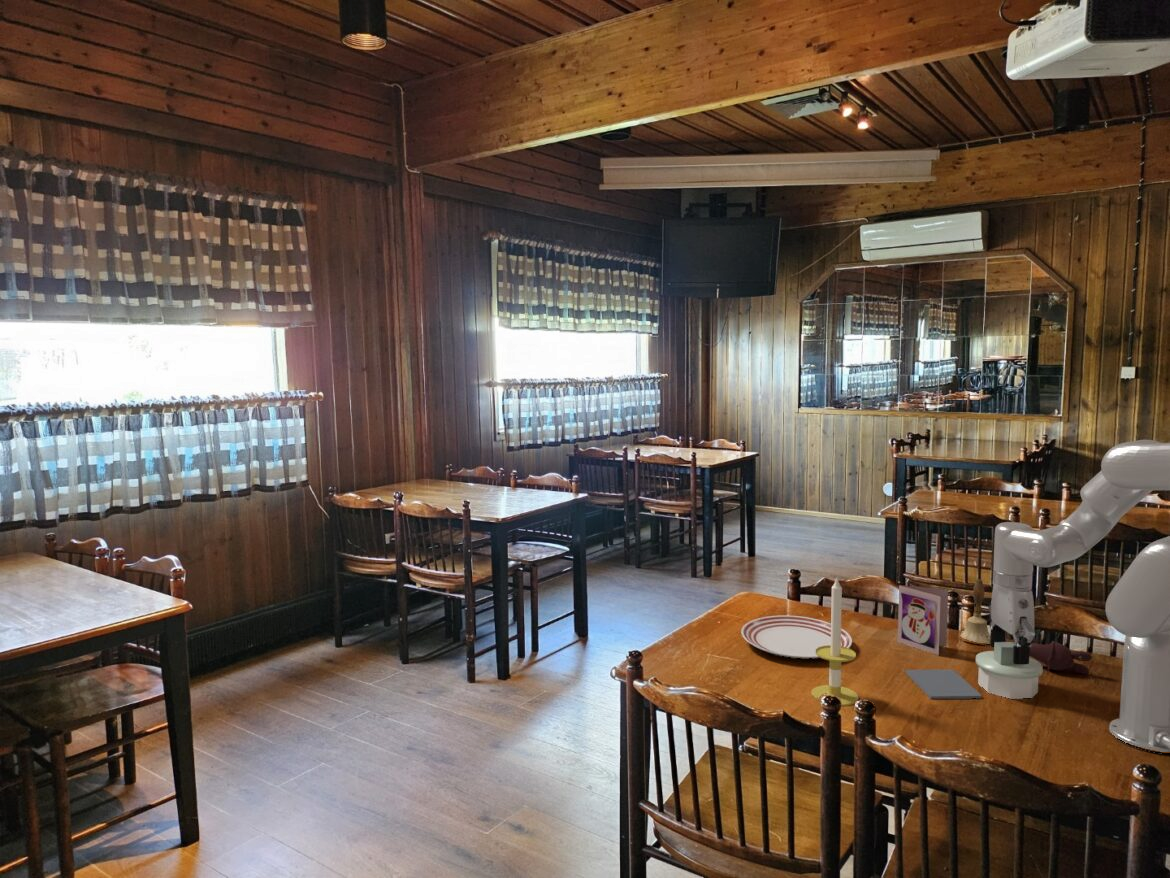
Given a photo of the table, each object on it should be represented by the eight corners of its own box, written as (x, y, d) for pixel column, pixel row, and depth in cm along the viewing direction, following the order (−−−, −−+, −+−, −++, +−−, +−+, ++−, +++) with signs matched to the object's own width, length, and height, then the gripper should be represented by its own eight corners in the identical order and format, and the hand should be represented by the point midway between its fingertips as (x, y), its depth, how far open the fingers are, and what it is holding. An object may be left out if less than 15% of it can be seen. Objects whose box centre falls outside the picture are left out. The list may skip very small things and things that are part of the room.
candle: (827, 709, 165) (830, 584, 162) (802, 689, 175) (803, 572, 172) (868, 702, 168) (871, 580, 165) (841, 683, 178) (843, 567, 175)
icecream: (1016, 643, 183) (1092, 661, 175) (1019, 626, 189) (1093, 643, 181) (1013, 668, 185) (1087, 686, 178) (1016, 650, 191) (1088, 668, 183)
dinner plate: (875, 656, 194) (876, 643, 193) (783, 674, 184) (783, 661, 183) (806, 621, 219) (806, 609, 219) (721, 636, 209) (721, 624, 209)
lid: (1055, 678, 167) (1056, 655, 166) (993, 679, 167) (994, 656, 166) (1022, 654, 180) (1023, 633, 179) (965, 655, 180) (965, 634, 179)
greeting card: (895, 642, 201) (897, 586, 200) (912, 636, 205) (914, 580, 204) (936, 656, 192) (938, 597, 190) (953, 650, 196) (956, 591, 194)
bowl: (1045, 698, 168) (1047, 676, 168) (995, 699, 168) (996, 676, 168) (1019, 677, 179) (1019, 656, 178) (971, 678, 179) (972, 657, 179)
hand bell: (963, 631, 208) (965, 573, 206) (997, 638, 203) (1000, 578, 201) (954, 641, 202) (957, 580, 200) (990, 648, 197) (992, 586, 195)
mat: (982, 698, 169) (982, 695, 169) (930, 698, 169) (930, 696, 169) (952, 671, 183) (952, 669, 183) (905, 672, 183) (905, 669, 183)
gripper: (1052, 591, 162) (1048, 670, 164) (1008, 568, 179) (1005, 640, 181) (1016, 591, 162) (1012, 671, 164) (975, 568, 180) (973, 640, 182)
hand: (1008, 654), depth 173 cm, fingers open, 9 cm apart
